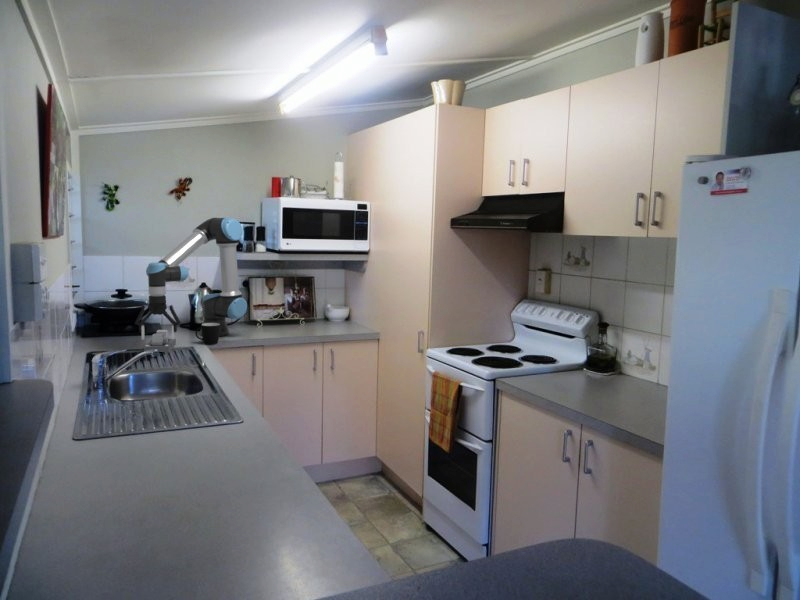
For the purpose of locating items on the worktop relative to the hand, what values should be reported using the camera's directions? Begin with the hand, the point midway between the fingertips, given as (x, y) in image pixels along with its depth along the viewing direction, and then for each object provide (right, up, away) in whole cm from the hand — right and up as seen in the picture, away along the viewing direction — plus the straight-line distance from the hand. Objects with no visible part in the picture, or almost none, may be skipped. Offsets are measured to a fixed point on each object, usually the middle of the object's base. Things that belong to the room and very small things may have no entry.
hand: (158, 339), depth 284 cm
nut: (0, -6, +1) cm, 6 cm away
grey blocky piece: (-1, -5, +6) cm, 8 cm away
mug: (+17, -4, +21) cm, 27 cm away
